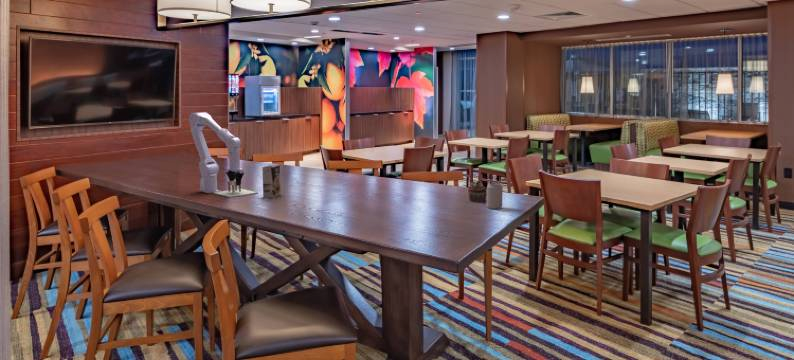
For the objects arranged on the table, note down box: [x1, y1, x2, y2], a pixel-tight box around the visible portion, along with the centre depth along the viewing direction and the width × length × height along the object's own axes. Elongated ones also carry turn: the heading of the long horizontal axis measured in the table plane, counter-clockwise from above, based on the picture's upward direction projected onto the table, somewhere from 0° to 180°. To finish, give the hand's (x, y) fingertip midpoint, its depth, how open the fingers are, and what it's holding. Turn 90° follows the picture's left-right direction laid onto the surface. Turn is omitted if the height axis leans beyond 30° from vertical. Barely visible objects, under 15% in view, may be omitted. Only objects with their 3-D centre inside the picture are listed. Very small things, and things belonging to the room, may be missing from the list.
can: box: [485, 182, 504, 210], centre depth 268 cm, size 8×8×12 cm
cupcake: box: [467, 180, 487, 203], centre depth 286 cm, size 10×10×10 cm
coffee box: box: [262, 164, 281, 198], centre depth 297 cm, size 9×6×16 cm
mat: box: [213, 188, 259, 199], centre depth 306 cm, size 17×17×1 cm
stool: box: [226, 180, 242, 193], centre depth 305 cm, size 5×5×6 cm
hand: (235, 184), depth 305 cm, fingers open, 5 cm apart
